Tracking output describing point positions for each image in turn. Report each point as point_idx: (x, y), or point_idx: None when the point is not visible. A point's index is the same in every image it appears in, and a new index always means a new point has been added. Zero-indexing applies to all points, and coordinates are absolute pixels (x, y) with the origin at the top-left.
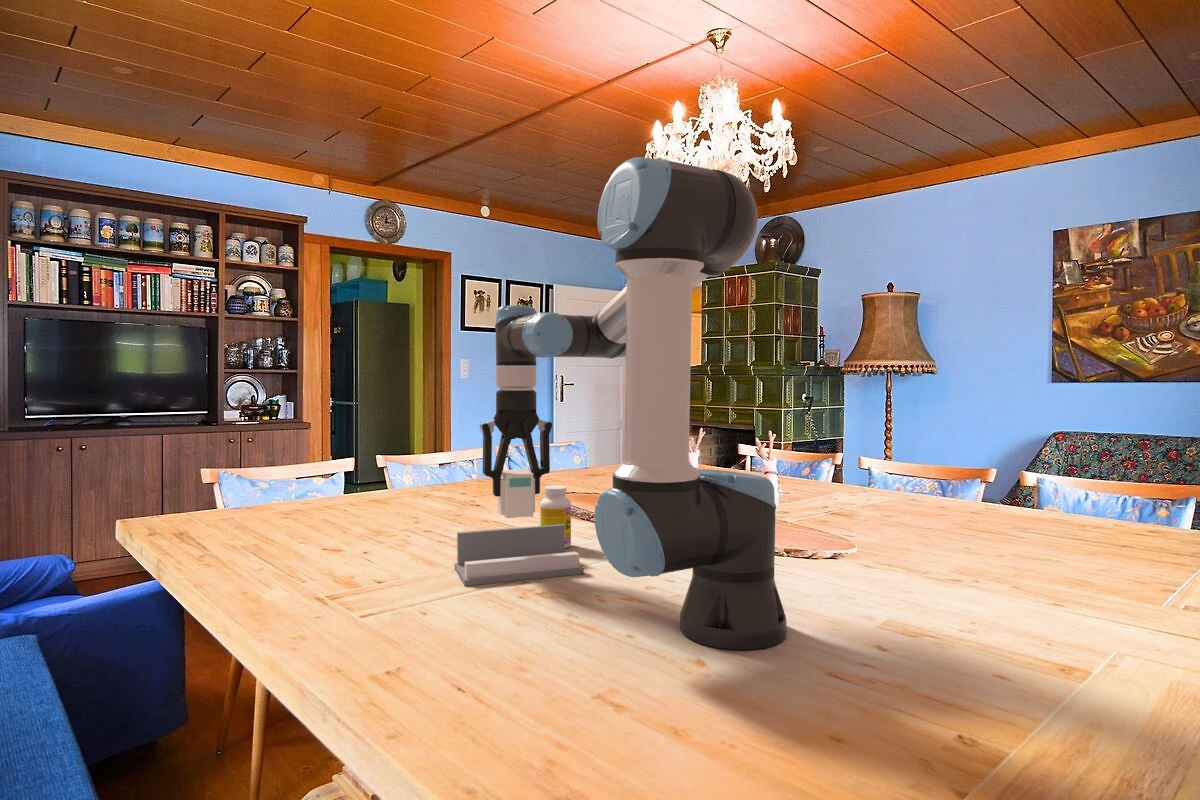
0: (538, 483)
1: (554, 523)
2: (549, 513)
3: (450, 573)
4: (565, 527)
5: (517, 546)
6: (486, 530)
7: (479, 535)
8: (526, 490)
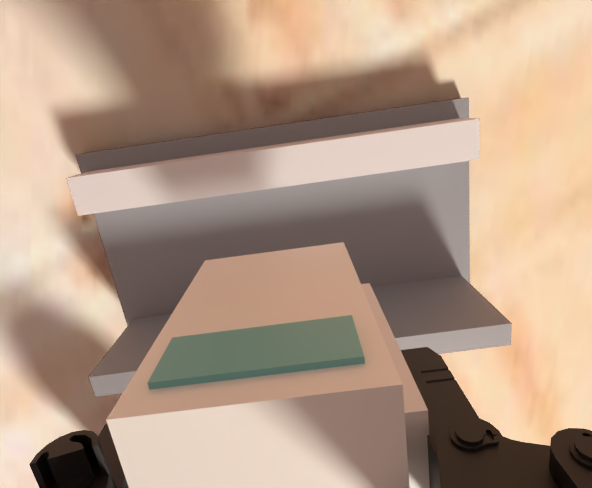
0: (109, 436)
1: None
2: None
3: (481, 243)
4: None
5: None
6: None
7: (423, 326)
8: (215, 323)
